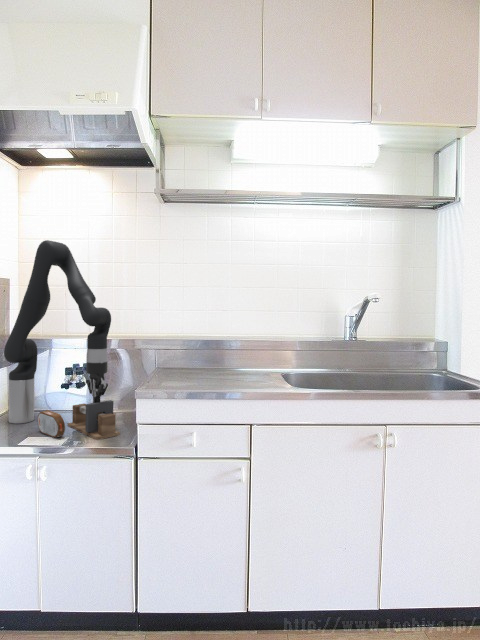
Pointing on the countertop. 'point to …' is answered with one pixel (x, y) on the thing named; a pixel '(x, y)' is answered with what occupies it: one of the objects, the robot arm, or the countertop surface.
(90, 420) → the dark grey square plate
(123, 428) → the countertop surface
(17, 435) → the countertop surface
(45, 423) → the tin
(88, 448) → the countertop surface
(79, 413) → the rod stand
